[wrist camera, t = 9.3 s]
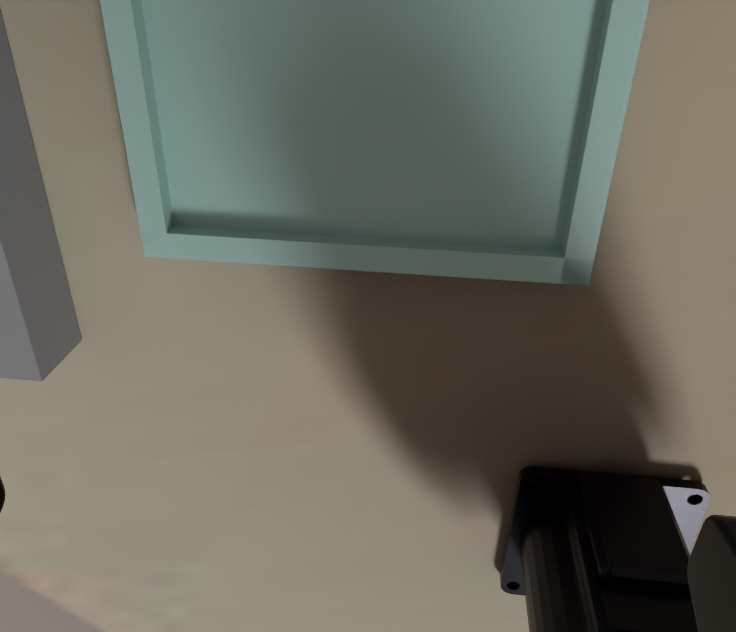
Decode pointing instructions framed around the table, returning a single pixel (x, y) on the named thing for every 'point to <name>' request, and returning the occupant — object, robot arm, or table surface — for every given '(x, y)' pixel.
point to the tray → (375, 130)
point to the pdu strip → (28, 249)
